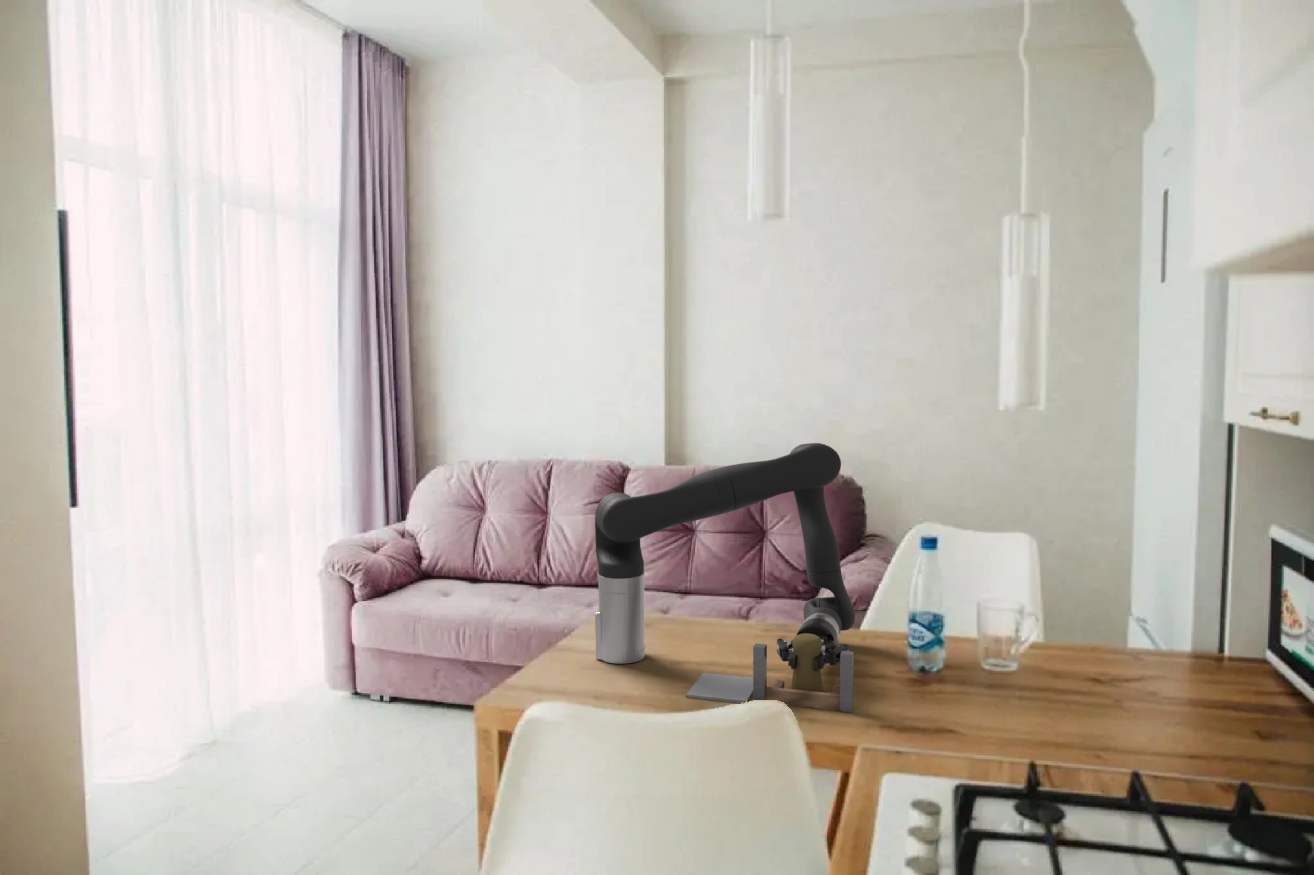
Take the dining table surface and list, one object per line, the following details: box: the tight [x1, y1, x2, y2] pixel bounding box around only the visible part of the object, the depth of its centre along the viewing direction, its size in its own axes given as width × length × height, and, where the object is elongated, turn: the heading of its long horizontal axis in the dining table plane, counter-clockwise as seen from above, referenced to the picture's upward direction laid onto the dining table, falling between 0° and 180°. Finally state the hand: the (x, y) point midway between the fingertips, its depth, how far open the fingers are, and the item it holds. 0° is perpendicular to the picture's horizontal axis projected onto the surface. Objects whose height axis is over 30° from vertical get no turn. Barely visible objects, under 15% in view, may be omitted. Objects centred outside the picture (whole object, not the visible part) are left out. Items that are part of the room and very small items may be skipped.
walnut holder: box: [752, 642, 854, 714], centre depth 164 cm, size 17×9×10 cm, turn 72°
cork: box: [790, 633, 824, 692], centre depth 166 cm, size 6×6×11 cm
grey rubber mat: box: [685, 672, 753, 704], centre depth 170 cm, size 11×12×1 cm
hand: (804, 664), depth 163 cm, fingers closed on cork, 3 cm apart
